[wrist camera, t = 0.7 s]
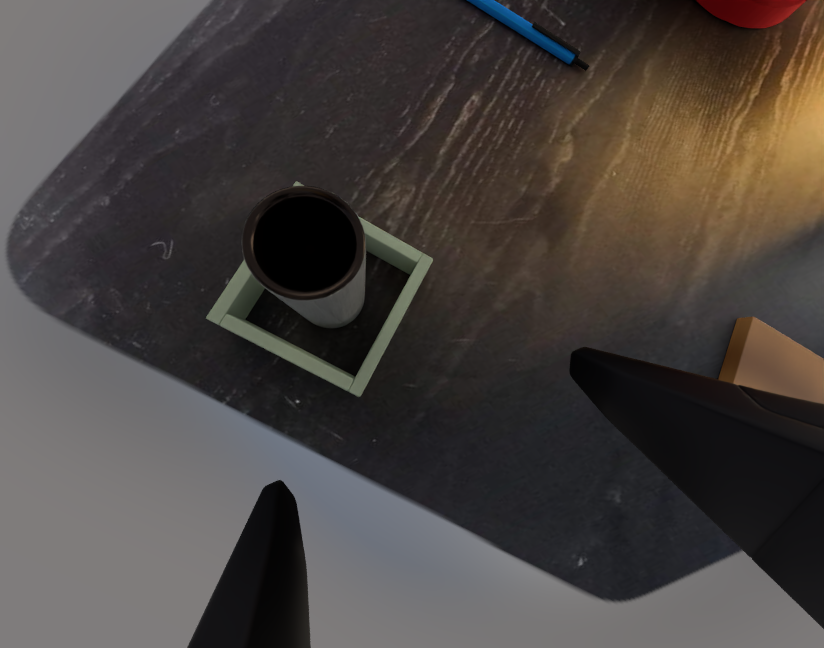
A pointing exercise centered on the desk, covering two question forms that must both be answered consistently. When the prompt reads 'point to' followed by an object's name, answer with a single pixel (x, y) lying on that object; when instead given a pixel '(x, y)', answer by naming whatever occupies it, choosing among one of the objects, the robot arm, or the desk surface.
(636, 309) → the desk surface
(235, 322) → the square frame
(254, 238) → the grey cylindrical cup
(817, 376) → the board
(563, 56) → the pen
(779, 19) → the bowl
